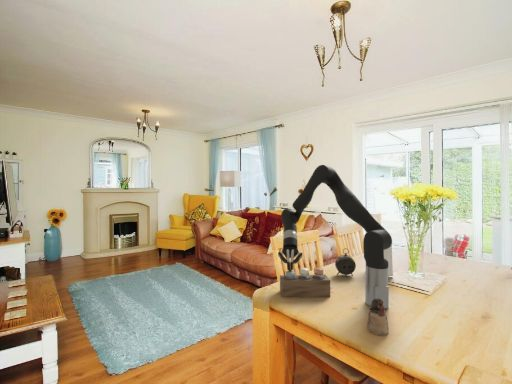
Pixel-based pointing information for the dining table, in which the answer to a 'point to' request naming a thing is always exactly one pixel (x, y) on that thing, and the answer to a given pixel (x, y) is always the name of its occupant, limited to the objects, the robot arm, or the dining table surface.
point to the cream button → (304, 271)
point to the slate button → (290, 274)
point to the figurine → (377, 318)
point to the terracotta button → (318, 271)
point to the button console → (305, 286)
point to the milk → (389, 260)
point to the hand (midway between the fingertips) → (290, 270)
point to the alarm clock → (345, 264)
